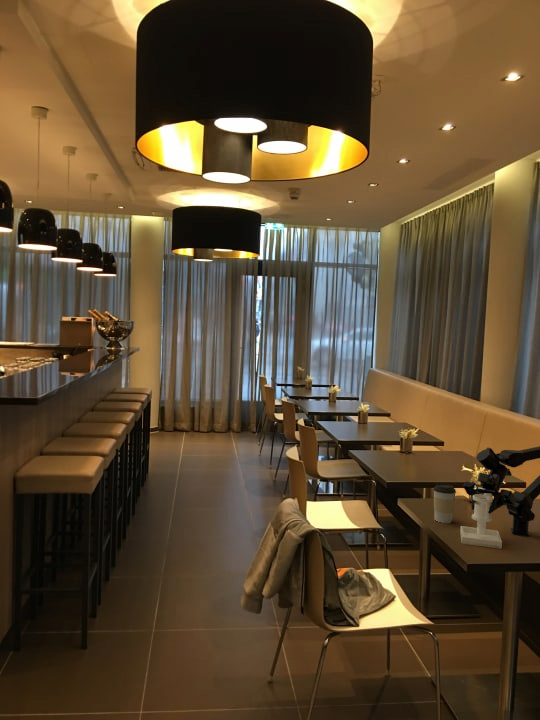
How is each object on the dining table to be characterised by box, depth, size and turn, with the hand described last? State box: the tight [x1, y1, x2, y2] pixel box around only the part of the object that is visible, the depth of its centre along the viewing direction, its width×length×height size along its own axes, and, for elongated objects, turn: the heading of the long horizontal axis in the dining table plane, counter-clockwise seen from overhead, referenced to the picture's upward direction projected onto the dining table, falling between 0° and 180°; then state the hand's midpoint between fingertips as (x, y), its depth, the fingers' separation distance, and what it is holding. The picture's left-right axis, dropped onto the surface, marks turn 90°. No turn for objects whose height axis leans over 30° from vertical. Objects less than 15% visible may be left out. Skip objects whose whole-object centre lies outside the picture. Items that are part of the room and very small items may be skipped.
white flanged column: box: [471, 493, 494, 535], centre depth 217 cm, size 7×7×15 cm
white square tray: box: [459, 525, 503, 550], centre depth 217 cm, size 14×14×2 cm
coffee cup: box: [433, 482, 457, 524], centre depth 239 cm, size 9×9×15 cm
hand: (480, 511), depth 216 cm, fingers closed on white flanged column, 6 cm apart
